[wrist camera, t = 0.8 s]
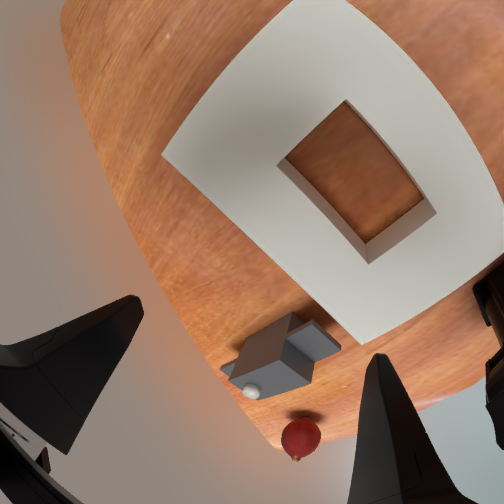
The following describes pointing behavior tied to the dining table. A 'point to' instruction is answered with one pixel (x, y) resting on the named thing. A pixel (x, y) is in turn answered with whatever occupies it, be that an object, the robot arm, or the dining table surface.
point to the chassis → (309, 199)
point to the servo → (280, 357)
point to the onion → (300, 438)
